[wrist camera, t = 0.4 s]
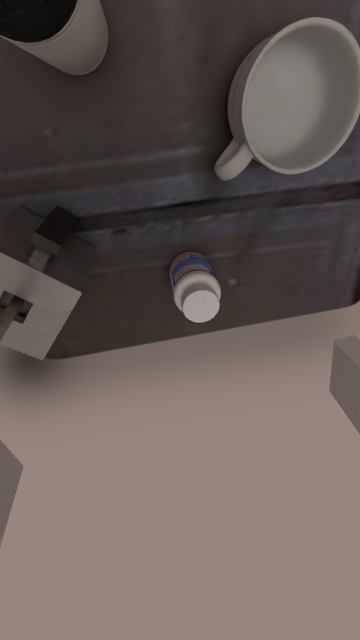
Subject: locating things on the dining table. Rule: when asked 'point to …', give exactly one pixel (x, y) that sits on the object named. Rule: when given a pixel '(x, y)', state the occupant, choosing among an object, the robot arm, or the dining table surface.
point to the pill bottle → (195, 287)
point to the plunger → (12, 310)
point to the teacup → (293, 99)
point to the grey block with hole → (41, 275)
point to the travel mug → (58, 32)
